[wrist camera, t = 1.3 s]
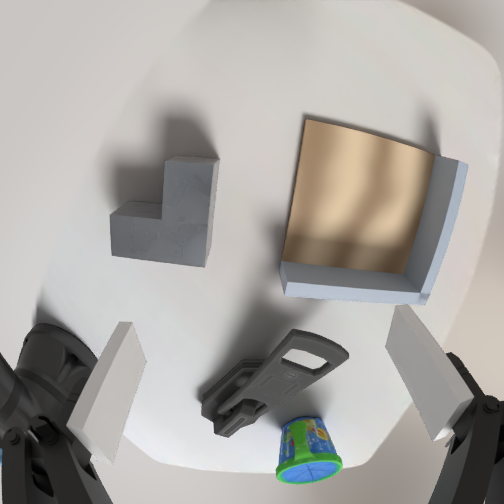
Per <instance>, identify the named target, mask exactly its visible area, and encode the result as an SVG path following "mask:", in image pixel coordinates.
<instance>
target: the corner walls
mask: <svg viewBox="0 0 504 504" xmlns="http://www.w3.org/2000/svg"><path fill="white" fill-rule="evenodd" d="M467 170H468V164H466V163H463V162H461V161H458V160H454V159H450V158H446V157H442V156H437V155H435V158H434V163H433V168H432V173H431V178H430V183H429V187H428V191H427V196H426V200H425V204H424V208H423V212H422V216H421V219H420V223H419V226H418V230H417V233H416V237H415V240H414V243H413V247H412V250H411V253H410V256H409V259H408V262H407V265H406V268H405V271H404V274H395V273H385V272H376V271H367V270H357V269H348V268H339V267H330V266H321V265H312V264H303V263H294V262H285V261H282V259H281V265H280V270H279V273H280V277H281V282H282V287H283V291H284V296H292V297H304V298H316V299H328V300H341V301H356V302H371V303H389V304H409V305H426V302H427V300H428V298H429V295H430V293H431V290H432V288H433V285H434V283H435V280H436V278H437V275H438V272H439V270H440V267H441V264H442V261H443V259H444V256H445V253H446V250H447V247H448V244H449V241H450V237H451V234H452V231H453V227H454V224H455V221H456V217H457V213H458V209H459V206H460V202H461V198H462V193H463V189H464V185H465V180H466V175H467Z"/></svg>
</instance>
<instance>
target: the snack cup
mask: <svg viewBox="0 0 504 504" xmlns="http://www.w3.org/2000/svg"><path fill="white" fill-rule="evenodd" d="M342 466H343V465H342V460H341V458H340V457H339V456H338V455H337V453H336V450H335V448H334V445H333V443H332V440H331V438H330V436H329V433H328V431H327V429H326V427H325V425H324V423H323V422H322V421H321V420H320V419H319V418H311V417H305V418H297V419H296V420H293V421H291V422H289V423H288V424H286V425H285V426H283V428H282V435H281V446H280V454H279V465H278V467H277V468H276V476H277V479H278V480H279V481H281V482H284V483H288V484H307V483H314V482H318V481H322V480H324V479H327V478H330V477H332V476H334V475H335V474H337V473H338V472H339V471H340V470H341V469H342Z"/></svg>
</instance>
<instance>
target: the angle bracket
mask: <svg viewBox="0 0 504 504" xmlns="http://www.w3.org/2000/svg"><path fill="white" fill-rule="evenodd" d="M219 161H220V159H214V158H203V157H191V156H176V157H174V158H171V159H169V160H166V161H165V167H164V182H163V201H162V204H160V203H149V202H137V201H129V202H128V203H126V204H125V205H123V206H122V207H120V208H119V209H117V210H116V211H114V212H113V213H111V214H110V234H111V251H112V256H118V257H125V258H133V259H140V260H148V261H156V262H164V263H172V264H180V265H188V266H196V267H204V268H205V265H206V261H207V258H208V255H209V251H210V248H211V240H212V229H213V218H214V208H215V198H216V188H217V179H218V169H219Z"/></svg>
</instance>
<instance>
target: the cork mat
mask: <svg viewBox="0 0 504 504" xmlns="http://www.w3.org/2000/svg"><path fill="white" fill-rule="evenodd" d="M434 158H435V155H434V154H431V153H428V152H425V151H423V150H420V149H417V148H414V147H411V146H408V145H405V144H402V143H399V142H396V141H392V140H389V139H386V138H382V137H379V136H375V135H372V134H368V133H364V132H361V131H357V130H353V129H349V128H345V127H340V126H336V125H332V124H327V123H323V122H318V121H313V120H308V119H305V124H304V131H303V138H302V144H301V150H300V157H299V163H298V169H297V175H296V181H295V187H294V193H293V199H292V204H291V210H290V216H289V221H288V227H287V233H286V238H285V243H284V249H283V254H282V261H285V262H294V263H303V264H312V265H321V266H330V267H339V268H348V269H357V270H367V271H376V272H385V273H395V274H404V271H405V268H406V265H407V262H408V259H409V256H410V253H411V250H412V247H413V243H414V240H415V237H416V233H417V230H418V226H419V223H420V219H421V216H422V212H423V208H424V204H425V200H426V196H427V191H428V187H429V183H430V178H431V173H432V168H433V163H434Z"/></svg>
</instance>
